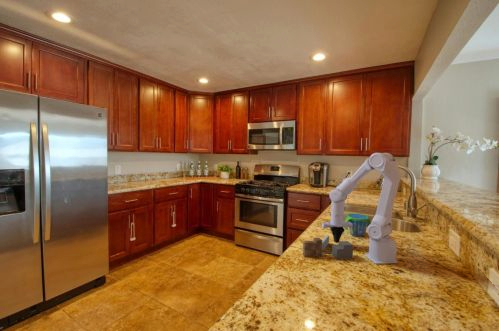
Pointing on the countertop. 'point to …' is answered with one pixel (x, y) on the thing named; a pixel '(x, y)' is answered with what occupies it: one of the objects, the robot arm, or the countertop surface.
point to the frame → (313, 248)
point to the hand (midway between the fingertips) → (336, 242)
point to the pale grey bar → (325, 242)
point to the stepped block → (343, 250)
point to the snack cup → (358, 224)
